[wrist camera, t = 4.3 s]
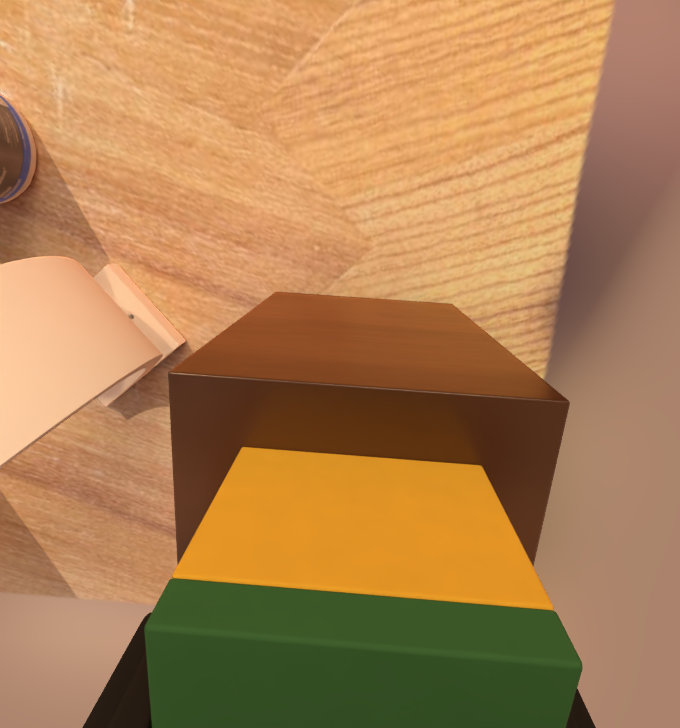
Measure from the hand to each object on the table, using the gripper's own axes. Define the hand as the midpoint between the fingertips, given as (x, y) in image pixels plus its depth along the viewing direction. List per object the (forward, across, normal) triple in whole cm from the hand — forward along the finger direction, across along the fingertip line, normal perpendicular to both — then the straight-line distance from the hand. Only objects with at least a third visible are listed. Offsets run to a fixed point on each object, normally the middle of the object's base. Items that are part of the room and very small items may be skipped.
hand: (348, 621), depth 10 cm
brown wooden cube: (+13, 0, 0) cm, 13 cm away
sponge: (+1, 0, 0) cm, 1 cm away
